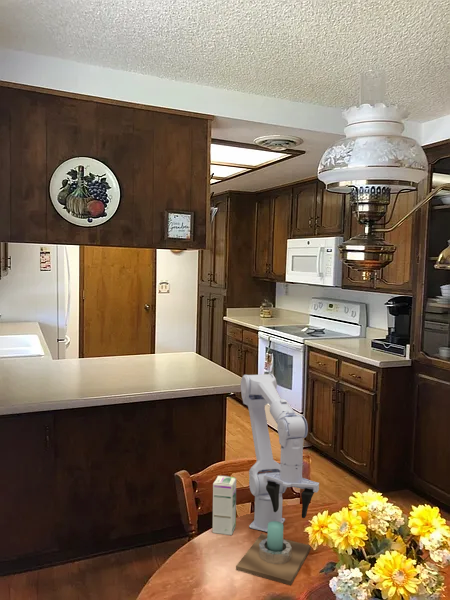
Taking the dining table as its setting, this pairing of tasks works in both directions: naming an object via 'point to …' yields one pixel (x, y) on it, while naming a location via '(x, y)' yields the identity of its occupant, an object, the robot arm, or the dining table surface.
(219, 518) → the syrup box
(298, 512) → the dining table surface
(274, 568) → the walnut board
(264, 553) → the socket ring
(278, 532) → the peg
